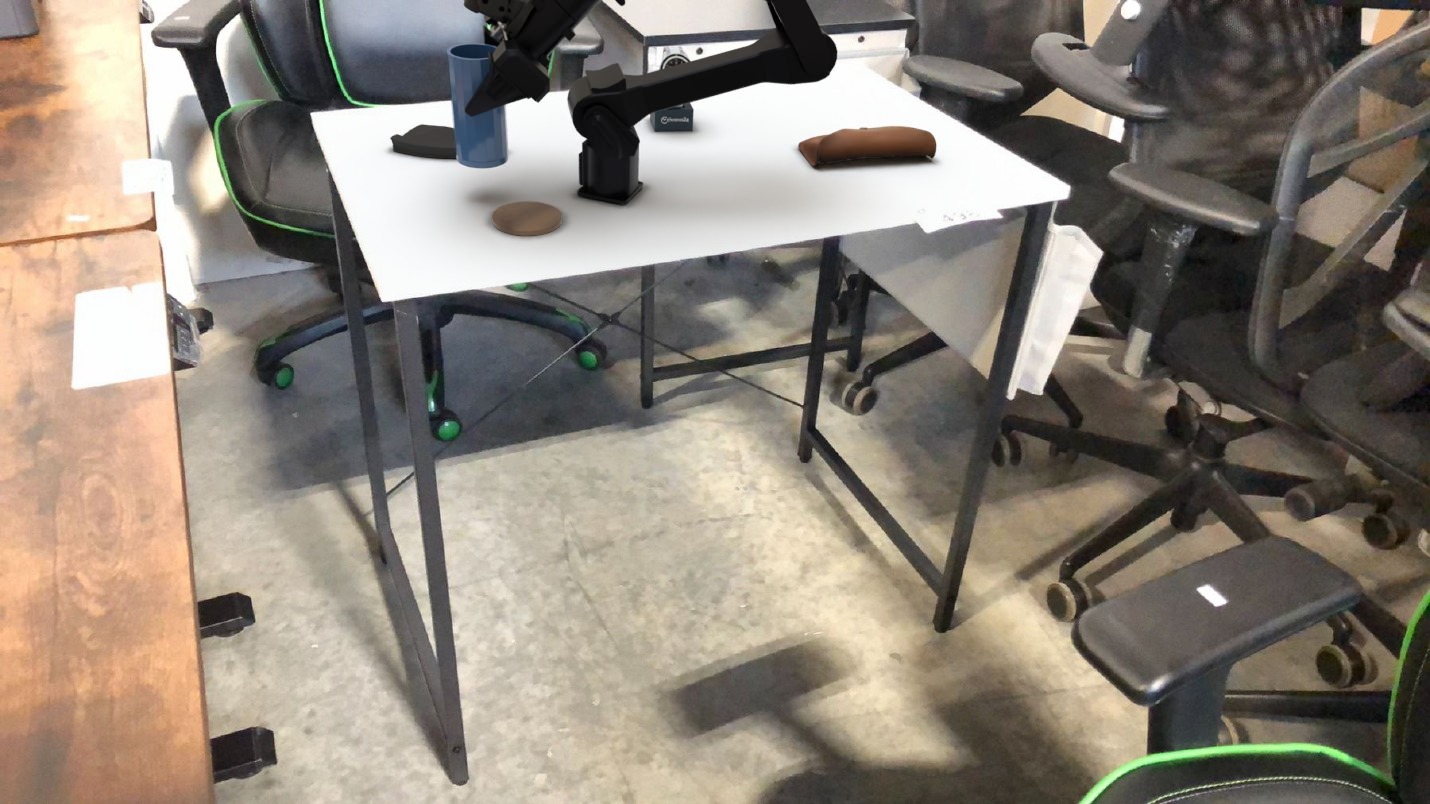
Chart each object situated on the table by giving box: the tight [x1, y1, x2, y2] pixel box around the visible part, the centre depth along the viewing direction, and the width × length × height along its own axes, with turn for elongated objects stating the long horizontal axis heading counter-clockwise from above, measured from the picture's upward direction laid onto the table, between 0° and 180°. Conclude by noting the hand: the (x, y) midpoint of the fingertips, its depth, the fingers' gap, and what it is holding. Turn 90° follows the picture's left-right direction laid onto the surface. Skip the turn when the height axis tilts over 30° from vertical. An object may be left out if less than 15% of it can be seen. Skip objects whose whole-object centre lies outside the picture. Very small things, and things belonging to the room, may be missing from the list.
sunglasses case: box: [797, 125, 937, 167], centre depth 138 cm, size 18×7×7 cm
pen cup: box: [446, 42, 509, 169], centre depth 114 cm, size 6×6×12 cm
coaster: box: [491, 200, 563, 237], centre depth 115 cm, size 8×8×1 cm
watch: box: [649, 46, 695, 132], centre depth 140 cm, size 6×8×11 cm
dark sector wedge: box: [389, 123, 457, 159], centre depth 131 cm, size 8×14×2 cm, turn 74°
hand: (466, 103), depth 113 cm, fingers closed on pen cup, 6 cm apart
